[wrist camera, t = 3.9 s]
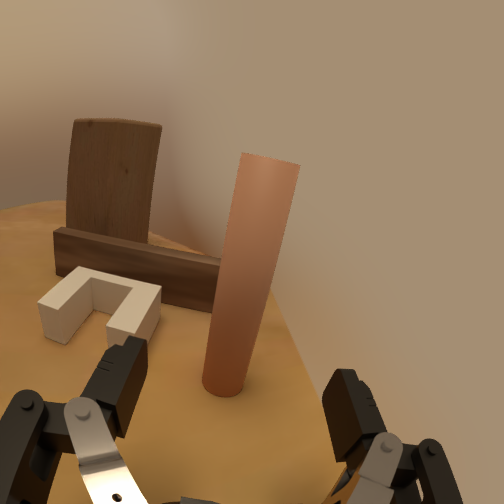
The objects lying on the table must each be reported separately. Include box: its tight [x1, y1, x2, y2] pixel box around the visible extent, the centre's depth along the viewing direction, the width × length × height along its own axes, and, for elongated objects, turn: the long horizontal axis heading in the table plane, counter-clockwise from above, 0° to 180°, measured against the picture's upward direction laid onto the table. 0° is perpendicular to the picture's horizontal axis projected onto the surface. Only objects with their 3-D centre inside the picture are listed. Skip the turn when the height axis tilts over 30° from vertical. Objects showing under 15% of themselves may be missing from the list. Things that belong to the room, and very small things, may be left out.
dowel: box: [202, 153, 300, 397], centre depth 19 cm, size 4×4×18 cm
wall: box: [53, 227, 221, 313], centre depth 31 cm, size 2×22×6 cm, turn 90°
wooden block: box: [66, 118, 162, 244], centre depth 37 cm, size 10×10×20 cm
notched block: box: [37, 266, 162, 348], centre depth 24 cm, size 8×10×4 cm
